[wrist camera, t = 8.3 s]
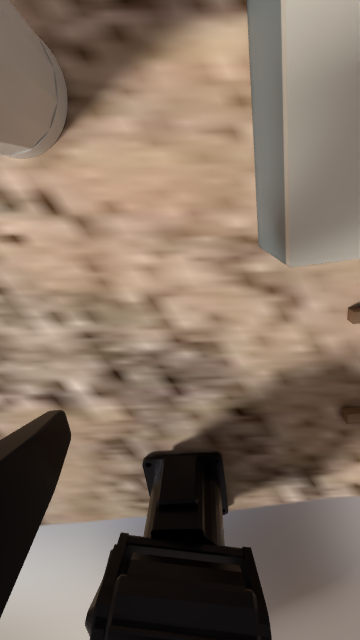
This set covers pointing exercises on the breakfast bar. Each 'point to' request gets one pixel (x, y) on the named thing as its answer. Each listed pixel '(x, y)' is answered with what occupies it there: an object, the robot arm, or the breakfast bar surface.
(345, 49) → the box
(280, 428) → the breakfast bar surface
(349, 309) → the coin stand
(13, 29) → the cup
